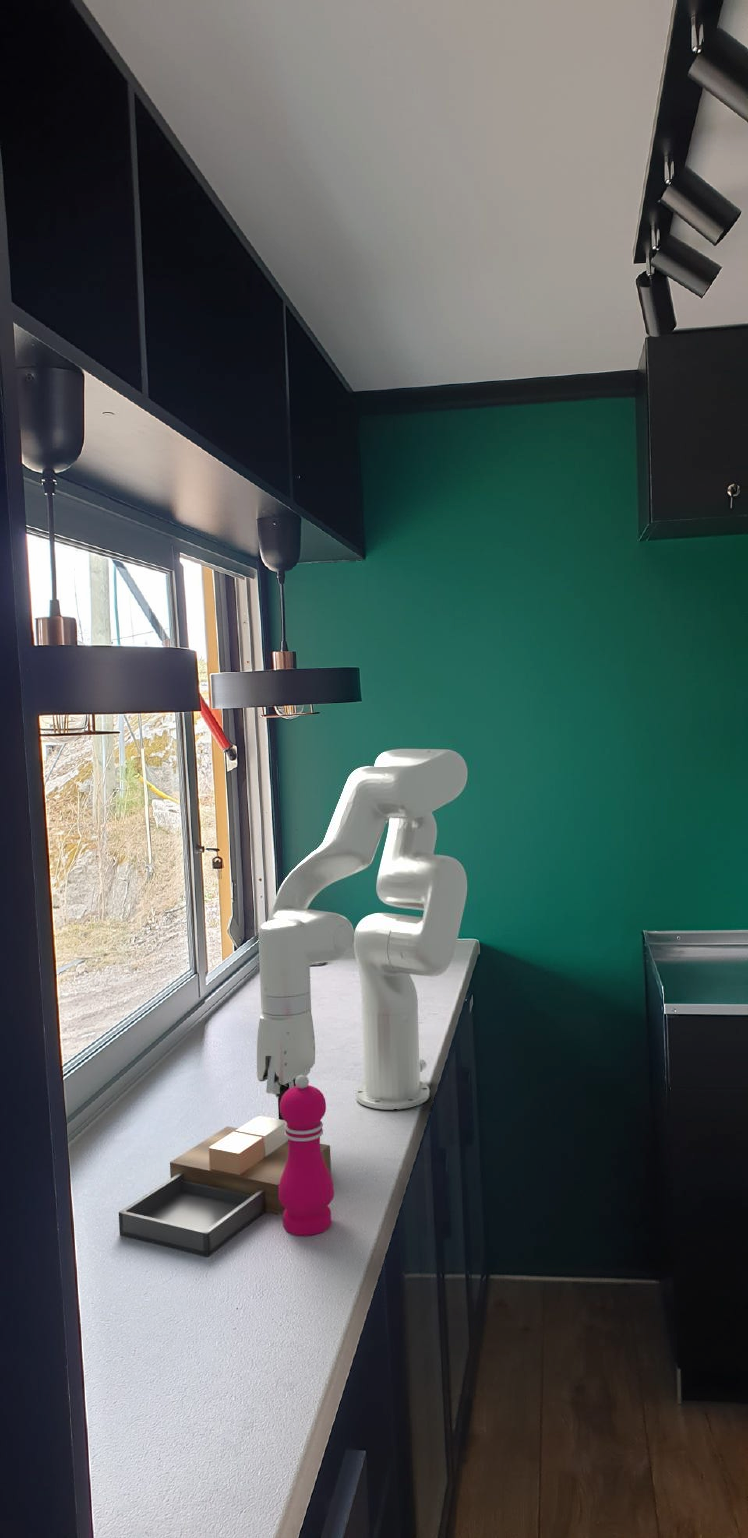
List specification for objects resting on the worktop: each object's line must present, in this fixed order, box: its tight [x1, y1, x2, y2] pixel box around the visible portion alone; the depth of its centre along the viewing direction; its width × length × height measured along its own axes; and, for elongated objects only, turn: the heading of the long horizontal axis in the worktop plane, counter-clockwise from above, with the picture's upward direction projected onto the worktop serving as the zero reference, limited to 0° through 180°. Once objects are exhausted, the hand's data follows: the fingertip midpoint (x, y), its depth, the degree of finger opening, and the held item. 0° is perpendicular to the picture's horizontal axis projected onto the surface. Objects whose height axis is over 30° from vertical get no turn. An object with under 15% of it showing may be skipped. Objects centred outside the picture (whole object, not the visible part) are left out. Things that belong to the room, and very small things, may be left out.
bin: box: [118, 1172, 266, 1258], centre depth 147 cm, size 13×14×3 cm
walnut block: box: [169, 1126, 332, 1215], centre depth 159 cm, size 14×18×4 cm
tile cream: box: [236, 1115, 288, 1157], centre depth 161 cm, size 6×5×3 cm
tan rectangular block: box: [209, 1132, 264, 1175], centre depth 156 cm, size 6×5×3 cm
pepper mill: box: [279, 1075, 335, 1237], centre depth 145 cm, size 7×7×20 cm
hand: (290, 1121), depth 168 cm, fingers closed
